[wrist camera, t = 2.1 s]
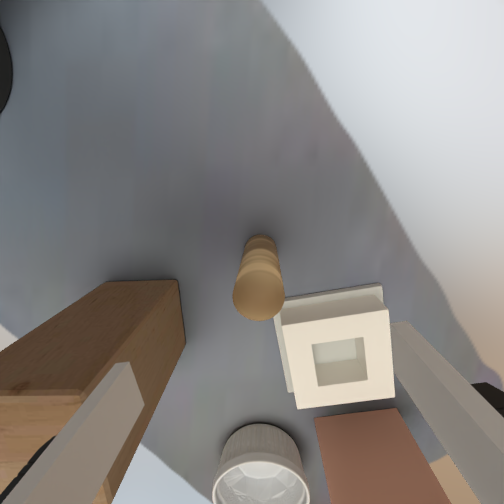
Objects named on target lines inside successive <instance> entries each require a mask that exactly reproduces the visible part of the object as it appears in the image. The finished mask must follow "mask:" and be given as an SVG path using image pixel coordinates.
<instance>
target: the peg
mask: <svg viewBox="0 0 504 504" xmlns="http://www.w3.org/2000/svg"><path fill="white" fill-rule="evenodd" d="M284 301H285V293H284V288H283V282H282V276H281V271H280V265H279V259H278V254H277V248H276V244H275V242H274V241H273V240H272V239H271V238H270V237H268V236H266V235H255V236H253V237H251V238H250V239H249V240H248V241H247V243H246V245H245V249H244V253H243V257H242V260H241V264H240V268H239V272H238V275H237V279H236V283H235V286H234V290H233V303H234V305H235V308H236V309H237V311H238V312H239V313H240V314H241V315H243V316H244V317H246V318H248V319H250V320H255V321H263V320H267V319H270V318H272V317H274V316H275V315H277V314H278V313H279V312H280V310H281V309H282V307H283V304H284Z"/></svg>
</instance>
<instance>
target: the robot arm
mask: <svg viewBox="0 0 504 504" xmlns="http://www.w3.org/2000/svg"><path fill="white" fill-rule="evenodd" d="M11 77H12V69H11V59H10V54H9V50H8V46H7V43H6V40H5V37H4V35H3V32H2V30H1V28H0V111H1V110H2V109H3V107H4V105H5V103H6V101H7V98H8V95H9V92H10V87H11ZM390 328H391V340H392V353H393V365H394V373H395V375H396V376H397V378H398V379H399V381H400V382H401V384H402V385H403V387H404V388H405V390H406V391H407V393H408V394H409V396H410V397H411V399H412V400H413V402H414V403H415V405H416V406H417V408H418V409H419V411H420V412H421V414H422V415H423V417H424V418H425V420H426V421H427V423H428V424H429V426H430V427H431V429H432V430H433V432H434V433H435V435H436V436H437V438H438V439H439V441H440V442H441V444H442V445H443V447H444V449H445V450H446V452H447V453H448V455H449V456H450V457H451V459H452V461H453V462H454V464H455V465H456V467H457V468H458V469H459V471H460V473H461V474H462V476H463V477H464V479H465V480H466V482H467V483H468V485H469V486H470V488H471V489H472V491H473V492H474V494H475V495H476V496H477V498H478V500H479V501H480V503H481V504H504V392H503V391H501V390H499V389H497V388H496V387H494V386H492V385H490V384H488V383H486V382H485V383H476V384H469V383H468V382H467V381H466V380H465V379H464V378H463V377H462V376H461V375H460V374H459V373H458V372H457V371H456V369H455V368H454V367H453V366H452V365H451V364H450V363H449V362H448V361H447V360H446V359H445V358H444V357H443V356H442V355H441V354H440V353H439V352H438V351H437V350H436V349H435V348H434V347H433V346H432V345H431V344H430V343H429V342H428V341H427V340H426V339H425V338H424V337H423V336H422V335H421V334H420V333H419V332H418V331H417V330H416V329H415V328H414V327H413V326H412V325H411V324H410V323H409V322H408V321H402V322H395V323H390ZM144 405H145V404H144V402H143V399H142V396H141V393H140V390H139V388H138V385H137V382H136V379H135V376H134V373H133V371H132V368H131V365H130V362H122V363H115V365H114V366H113V367H112V368H111V370H110V371H109V372H108V373H107V374H106V376H105V377H104V378H103V379H102V381H101V382H100V383H99V384H98V386H97V387H96V388H95V389H94V390H93V392H92V393H91V394H90V395H89V397H88V398H87V399H86V400H85V401H84V403H83V404H82V405H81V406H80V408H79V409H78V410H77V411H76V413H75V414H74V415H73V416H72V417H71V419H70V420H69V421H68V422H67V424H66V425H65V426H64V427H63V428H62V430H61V431H60V432H59V433H58V435H57V436H53V437H52V438H51V439H50V440H48V441H47V442H46V443H45V444H44V445H43V446H41V447H40V448H39V449H38V450H37V452H36V453H35V454H34V455H33V456H32V457H31V459H30V460H29V461H28V462H27V465H25V466H24V467H23V468H22V469H21V471H20V472H19V473H18V475H17V477H15V478H14V479H13V480H12V481H11V482H10V484H9V485H8V486H7V487H6V488H5V490H4V491H3V492H2V493H1V494H0V504H92V502H93V500H94V499H95V497H96V495H97V493H98V491H99V489H100V487H101V485H102V484H103V482H104V480H105V478H106V476H107V474H108V472H109V471H110V469H111V467H112V465H113V463H114V461H115V459H116V457H117V456H118V454H119V452H120V450H121V448H122V446H123V444H124V443H125V441H126V439H127V437H128V435H129V433H130V431H131V429H132V428H133V426H134V424H135V422H136V420H137V418H138V416H139V415H140V413H141V411H142V409H143V407H144Z"/></svg>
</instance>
